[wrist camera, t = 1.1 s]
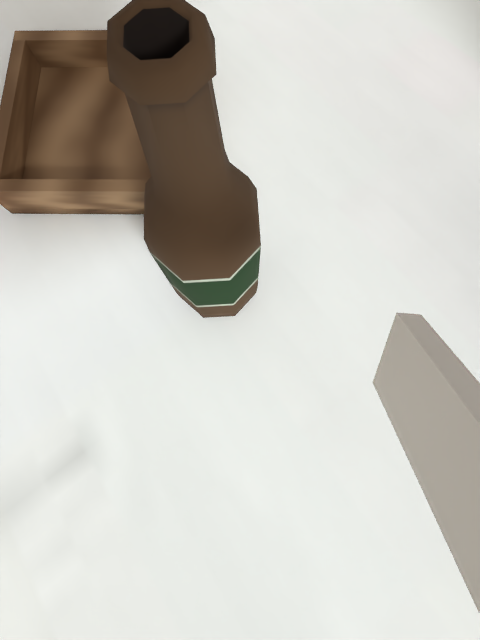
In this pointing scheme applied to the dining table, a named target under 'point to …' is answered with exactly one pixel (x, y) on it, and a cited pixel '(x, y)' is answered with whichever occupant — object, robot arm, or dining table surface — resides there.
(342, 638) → the dining table surface
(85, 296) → the dining table surface
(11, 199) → the box
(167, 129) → the beer bottle
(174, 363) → the dining table surface
